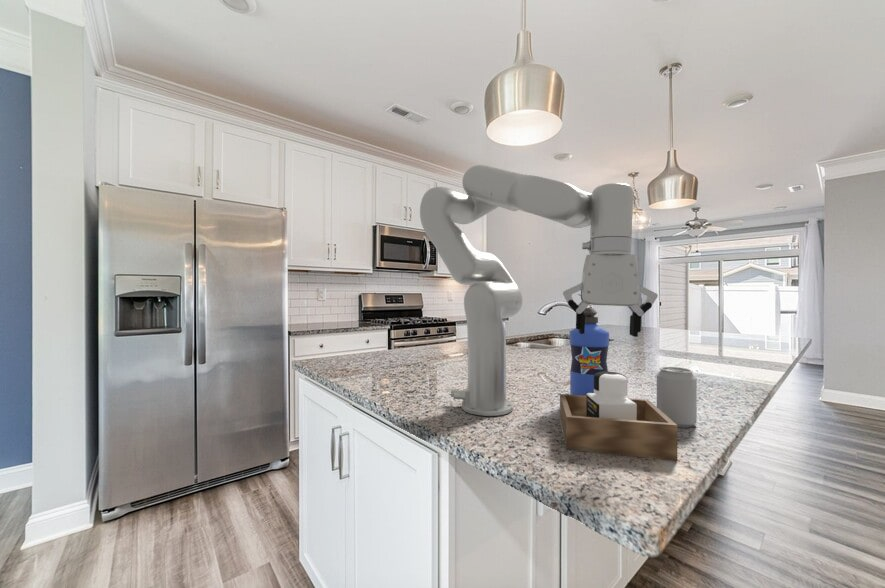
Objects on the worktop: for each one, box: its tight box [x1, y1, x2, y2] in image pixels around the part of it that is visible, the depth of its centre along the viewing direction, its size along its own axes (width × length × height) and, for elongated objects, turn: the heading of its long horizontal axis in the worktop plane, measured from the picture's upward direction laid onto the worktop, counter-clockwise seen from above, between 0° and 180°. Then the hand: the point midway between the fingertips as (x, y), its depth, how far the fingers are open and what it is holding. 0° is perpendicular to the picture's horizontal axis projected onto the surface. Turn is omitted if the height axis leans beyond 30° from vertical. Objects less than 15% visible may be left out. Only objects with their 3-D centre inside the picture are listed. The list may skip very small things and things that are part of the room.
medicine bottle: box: [586, 371, 637, 420], centre depth 73 cm, size 7×7×12 cm
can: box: [656, 366, 698, 428], centre depth 82 cm, size 8×8×12 cm
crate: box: [559, 393, 678, 461], centre depth 73 cm, size 18×16×6 cm
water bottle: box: [569, 307, 610, 396], centre depth 93 cm, size 9×9×25 cm
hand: (607, 334), depth 73 cm, fingers open, 9 cm apart
